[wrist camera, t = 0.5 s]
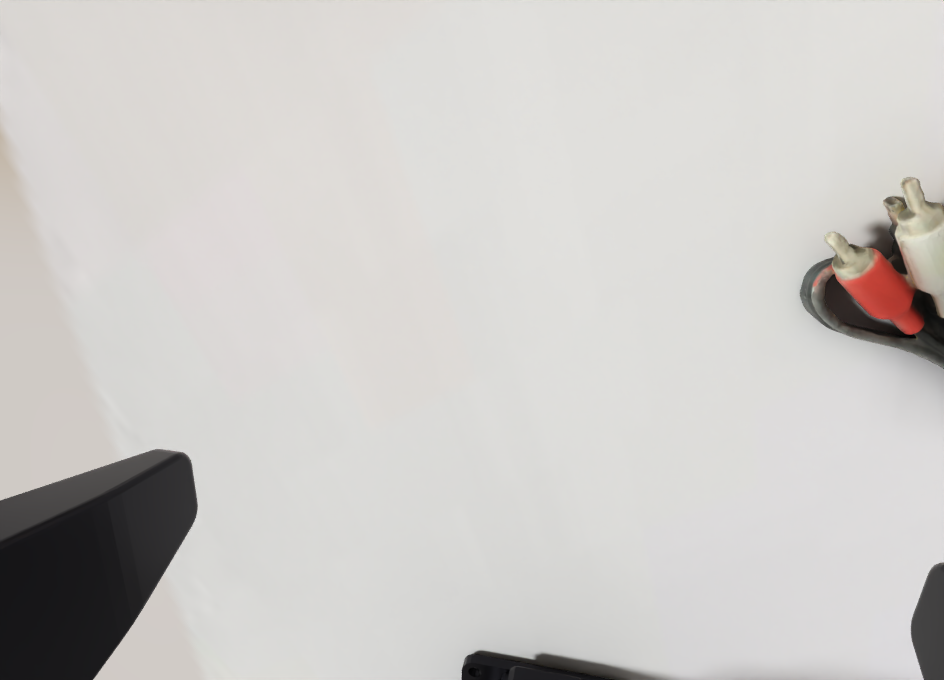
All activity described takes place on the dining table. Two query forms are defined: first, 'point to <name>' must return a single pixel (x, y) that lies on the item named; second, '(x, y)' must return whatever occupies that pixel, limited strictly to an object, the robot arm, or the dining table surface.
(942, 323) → the composite cable
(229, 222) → the dining table surface
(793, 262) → the dining table surface
